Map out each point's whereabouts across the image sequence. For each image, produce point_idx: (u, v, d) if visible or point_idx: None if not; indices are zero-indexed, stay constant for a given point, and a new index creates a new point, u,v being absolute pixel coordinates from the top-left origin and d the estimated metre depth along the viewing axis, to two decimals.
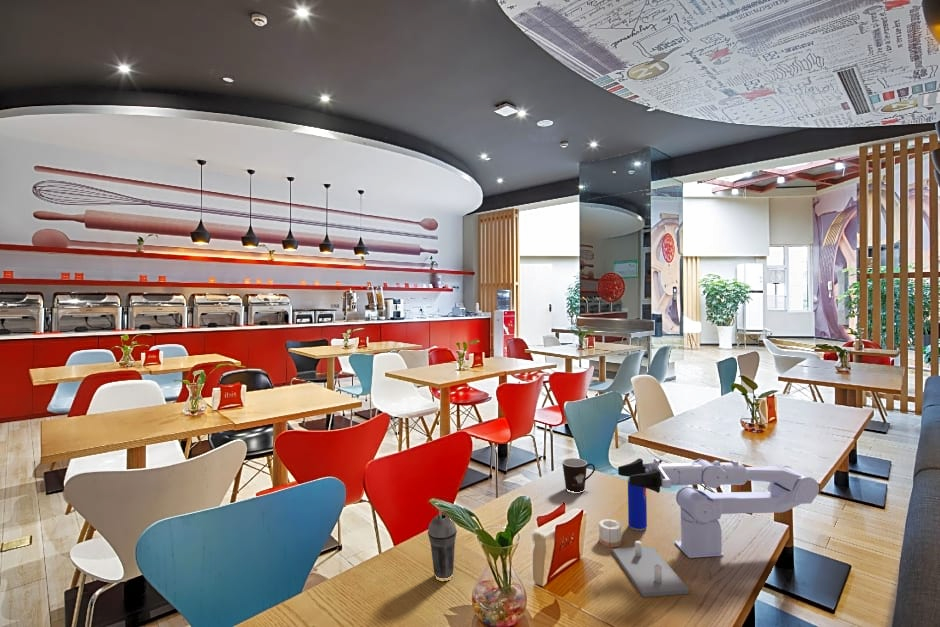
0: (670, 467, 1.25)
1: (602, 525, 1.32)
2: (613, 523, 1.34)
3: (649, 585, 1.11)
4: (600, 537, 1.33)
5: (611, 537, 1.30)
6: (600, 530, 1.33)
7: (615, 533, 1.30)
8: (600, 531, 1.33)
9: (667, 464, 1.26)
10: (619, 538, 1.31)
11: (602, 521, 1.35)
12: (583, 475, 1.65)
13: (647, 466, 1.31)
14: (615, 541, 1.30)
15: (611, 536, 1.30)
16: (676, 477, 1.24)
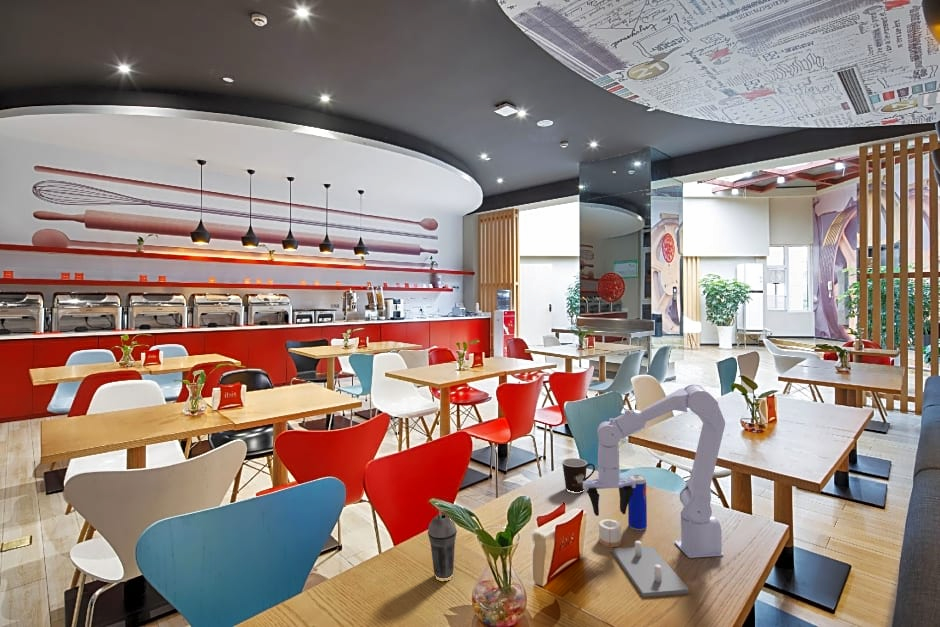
0: None
1: (602, 525, 1.32)
2: (613, 523, 1.34)
3: (649, 585, 1.11)
4: (600, 537, 1.33)
5: (611, 537, 1.30)
6: (600, 530, 1.33)
7: (615, 533, 1.30)
8: (600, 531, 1.33)
9: None
10: (619, 538, 1.31)
11: (602, 521, 1.35)
12: (583, 475, 1.65)
13: None
14: (615, 541, 1.30)
15: (611, 536, 1.30)
16: (598, 468, 1.32)
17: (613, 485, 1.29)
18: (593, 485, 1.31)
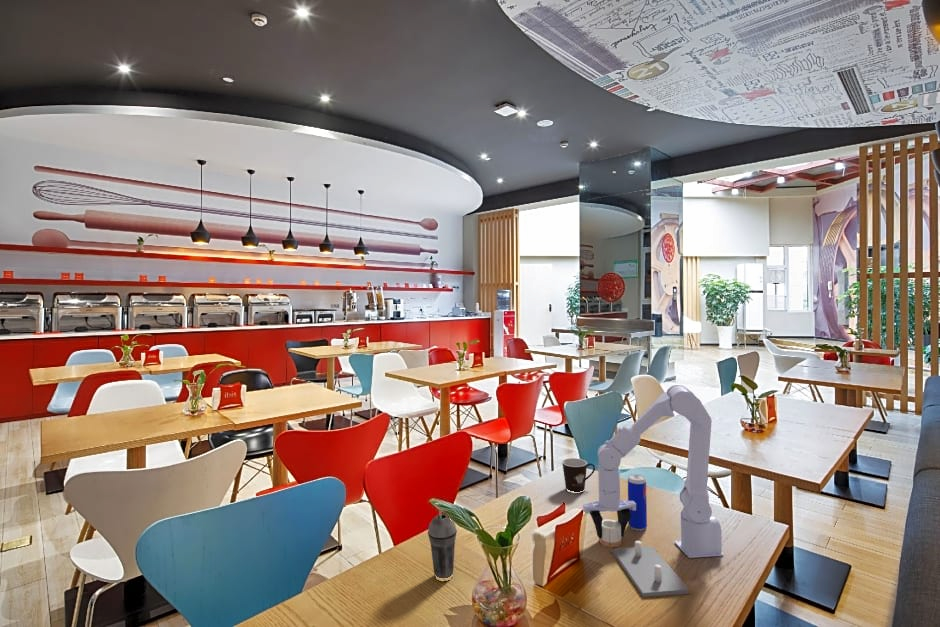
0: None
1: (602, 525, 1.32)
2: (613, 523, 1.34)
3: (649, 585, 1.11)
4: None
5: (611, 537, 1.30)
6: None
7: (615, 533, 1.30)
8: None
9: None
10: (619, 538, 1.31)
11: (602, 521, 1.35)
12: (583, 475, 1.65)
13: None
14: (615, 541, 1.30)
15: (611, 536, 1.30)
16: (599, 491, 1.32)
17: (614, 508, 1.30)
18: (594, 508, 1.31)
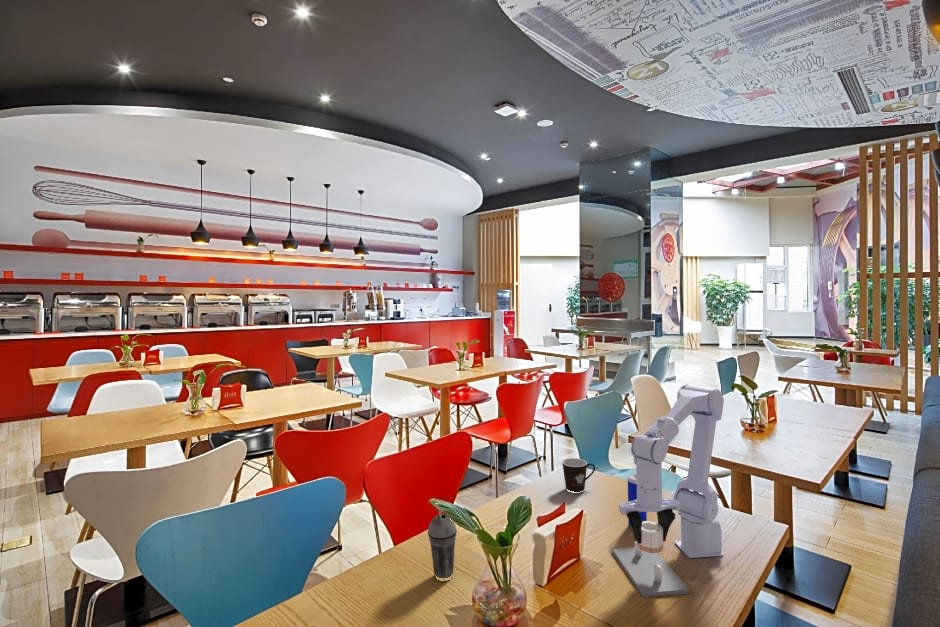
0: None
1: (641, 528, 1.14)
2: (653, 525, 1.16)
3: (649, 585, 1.11)
4: None
5: (652, 542, 1.12)
6: None
7: (657, 537, 1.12)
8: None
9: None
10: (661, 543, 1.13)
11: None
12: (583, 475, 1.65)
13: None
14: (657, 546, 1.13)
15: (652, 541, 1.12)
16: (638, 488, 1.14)
17: (655, 508, 1.12)
18: (632, 508, 1.13)
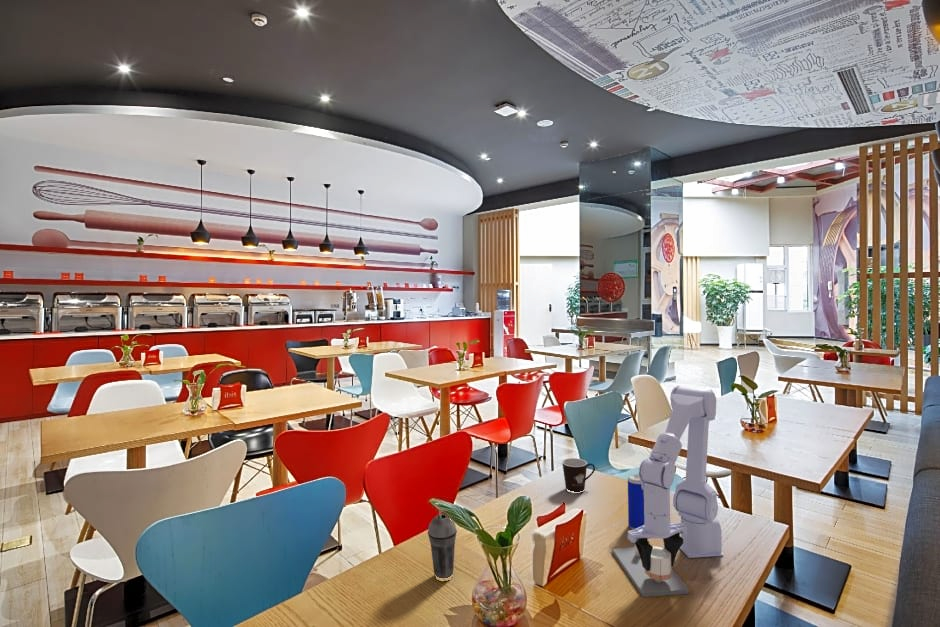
0: None
1: None
2: (660, 550, 1.14)
3: (649, 585, 1.11)
4: None
5: (662, 569, 1.10)
6: None
7: (666, 564, 1.10)
8: None
9: None
10: (670, 569, 1.11)
11: None
12: (583, 475, 1.65)
13: None
14: (666, 573, 1.10)
15: (662, 568, 1.10)
16: (646, 514, 1.12)
17: (665, 534, 1.10)
18: (642, 536, 1.10)
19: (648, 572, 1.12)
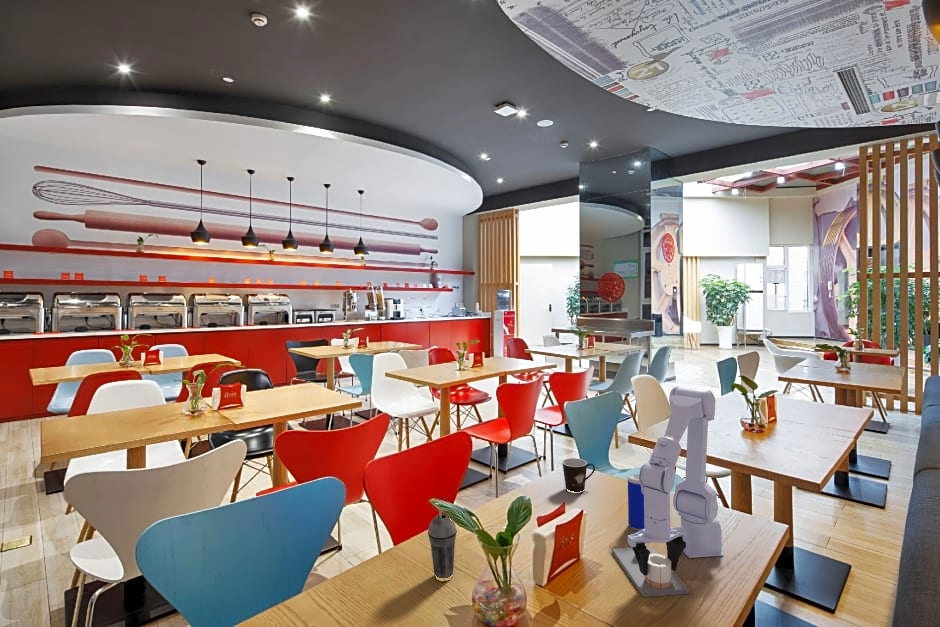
0: None
1: (650, 562, 1.12)
2: (660, 558, 1.14)
3: (649, 585, 1.11)
4: (647, 577, 1.12)
5: (662, 577, 1.10)
6: None
7: (667, 571, 1.10)
8: None
9: None
10: (670, 576, 1.11)
11: None
12: (583, 475, 1.65)
13: None
14: (667, 581, 1.10)
15: (662, 575, 1.10)
16: (646, 519, 1.12)
17: (665, 539, 1.10)
18: (642, 540, 1.10)
19: (648, 580, 1.12)
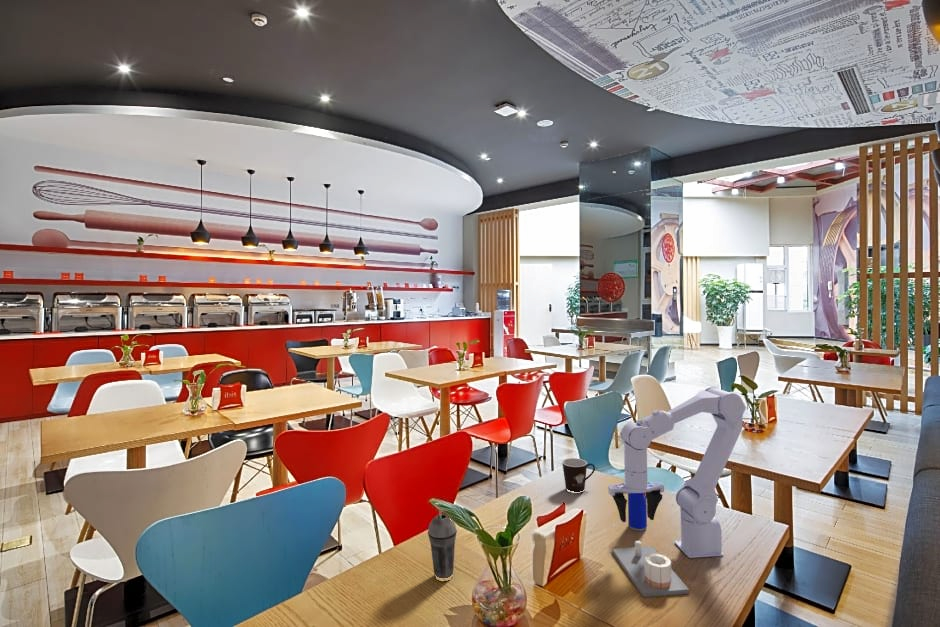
0: None
1: (650, 562, 1.12)
2: (660, 558, 1.14)
3: (649, 585, 1.11)
4: (647, 577, 1.12)
5: (662, 577, 1.10)
6: (647, 568, 1.12)
7: (667, 571, 1.10)
8: (647, 570, 1.12)
9: None
10: (670, 576, 1.11)
11: (647, 557, 1.14)
12: (583, 475, 1.65)
13: None
14: (667, 581, 1.10)
15: (662, 575, 1.10)
16: (625, 472, 1.25)
17: (641, 490, 1.23)
18: (620, 490, 1.24)
19: (648, 580, 1.12)
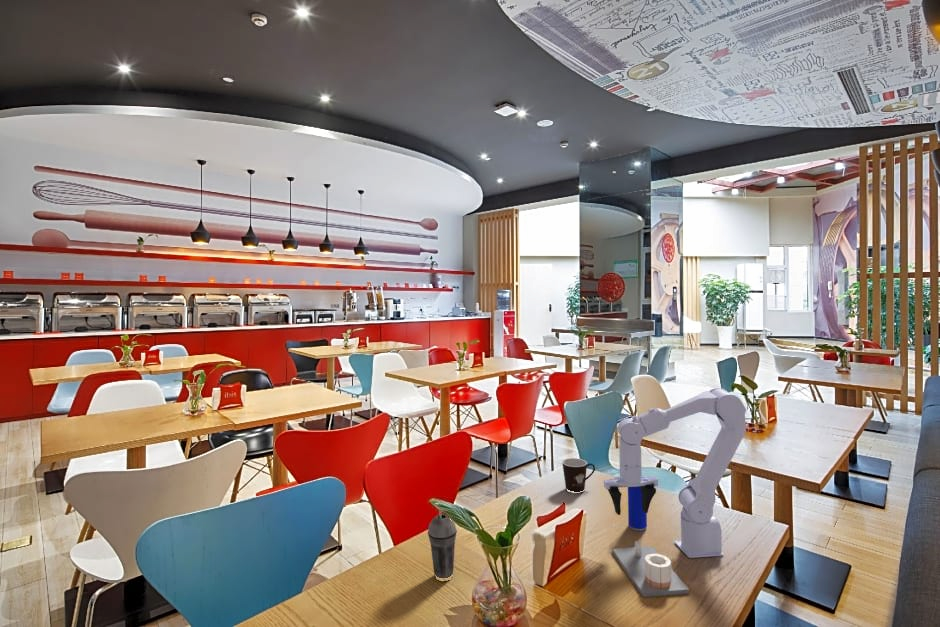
0: None
1: (650, 562, 1.12)
2: (660, 558, 1.14)
3: (649, 585, 1.11)
4: (647, 577, 1.12)
5: (662, 577, 1.10)
6: (647, 568, 1.12)
7: (667, 571, 1.10)
8: (647, 570, 1.12)
9: None
10: (670, 576, 1.11)
11: (647, 557, 1.14)
12: (583, 475, 1.65)
13: None
14: (667, 581, 1.10)
15: (662, 575, 1.10)
16: (620, 466, 1.29)
17: (635, 483, 1.27)
18: (615, 483, 1.28)
19: (648, 580, 1.12)
